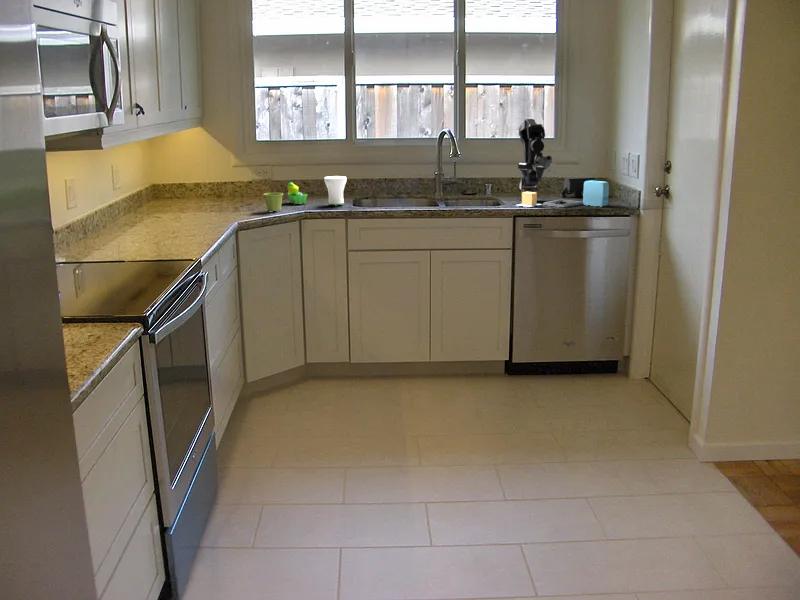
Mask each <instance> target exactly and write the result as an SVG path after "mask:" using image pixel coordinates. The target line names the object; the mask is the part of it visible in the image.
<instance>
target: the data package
mask: <svg viewBox="0 0 800 600" xmlns="http://www.w3.org/2000/svg"><path fill="white" fill-rule="evenodd" d="M609 191H610V183H609V182H608V181H604V180H602V181H600V180H595V181H594V180H590V181H585V182H584V191H582V195H583V197H582V205H584V206H588V205H590V206H589V207H596V206H600V207H599V208H602V207H603V206H604V207H607V206H608V205H609V196H610V195H609V194H610V192H609ZM604 207H603V208H604Z"/></svg>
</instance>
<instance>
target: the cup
mask: <svg viewBox="0 0 800 600" xmlns="http://www.w3.org/2000/svg"><path fill="white" fill-rule="evenodd" d="M323 180H324V184H325V186H326V188H327V191H328V204H329V206H330V205H333V206H334V205H335V206H334V207H337V205H338V206H340V205H342V206H344V203H345V199H344V191H345V187H346V183H347V180H348V179H347V177H346V176H343V175H341V176H340V175H333V176H332V175H331V176H325V177H324V179H323Z"/></svg>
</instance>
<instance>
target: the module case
mask: <svg viewBox="0 0 800 600" xmlns="http://www.w3.org/2000/svg"><path fill="white" fill-rule="evenodd" d="M560 202H566V203H563V204H562V203H560ZM555 203H557V204H555ZM580 204H582V205H583V200H572V199H564V198H562V199H555V200H551V201H545V202H543V204H542V206H543V205H548V206H547V207H550V206H557V207H556V208H559V207H567V206H572V207H574V206H573V205H577V206H581V205H580ZM567 208H568V207H567Z"/></svg>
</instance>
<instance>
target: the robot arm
mask: <svg viewBox="0 0 800 600" xmlns="http://www.w3.org/2000/svg"><path fill="white" fill-rule="evenodd" d="M545 131H546V130H545V128H544V126H543V124H542V123H539V124H538V123H537V122H536V119H534V118H526V119H524V121H523V122H522V123H521V124H520V125H519V128H518V137H519V139H520V142H521V143H522V145H523V162H519V163H518V164H517V169H518V170H519V171H520V172H521V173H522V174H521V177H520V180H519V181H520V182H519V189H520V190H521V193H522V192H535V193H537V192H536V190H538V188H539V183H540V182H541V180H542V178H543V174H544V172H545V171H546V170H547V169H548V168H549V167H550V166H551V164H552V162H553V161H552V160H553V159H552V157H553V156H551V155H547V156H544V155H543V152H542V151H544V148H545V144H544V142H543V141H542V140H545V138H546V132H545ZM534 167H535V169H534ZM520 197H521V199H519V201H521V202H522V196H520Z"/></svg>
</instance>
